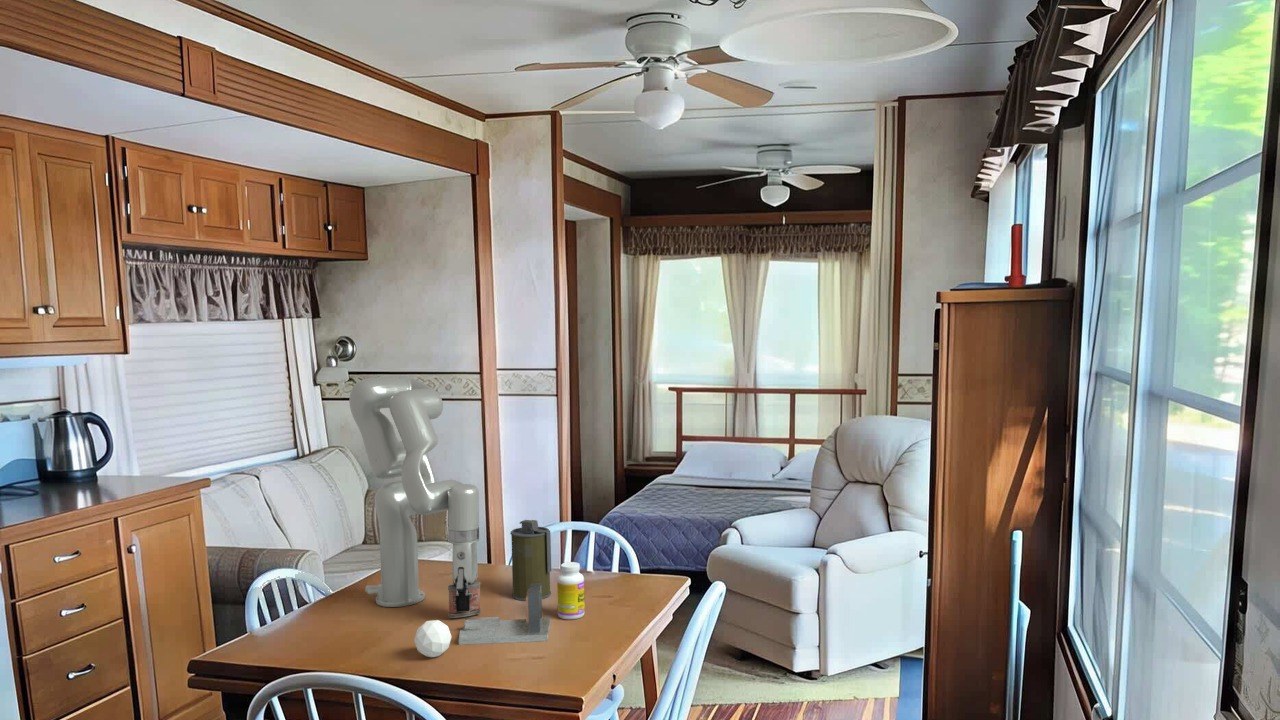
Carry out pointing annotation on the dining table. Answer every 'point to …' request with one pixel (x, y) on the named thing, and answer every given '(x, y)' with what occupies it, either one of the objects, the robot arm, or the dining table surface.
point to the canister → (530, 559)
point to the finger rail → (509, 625)
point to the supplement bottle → (570, 592)
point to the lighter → (474, 600)
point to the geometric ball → (432, 638)
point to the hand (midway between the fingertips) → (464, 606)
